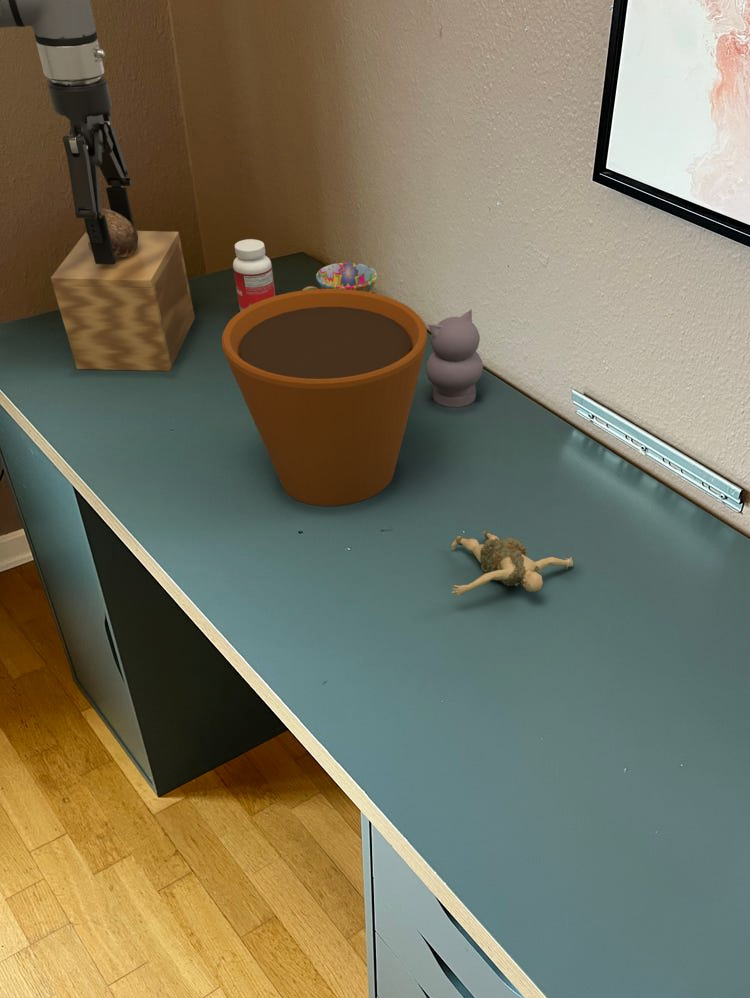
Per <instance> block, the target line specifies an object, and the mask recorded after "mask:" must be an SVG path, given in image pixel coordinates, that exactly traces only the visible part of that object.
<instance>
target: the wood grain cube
mask: <svg viewBox="0 0 750 998" xmlns="http://www.w3.org/2000/svg"><path fill="white" fill-rule="evenodd" d="M136 231H137V233H138V245H137V249H136V250H135V252H134V253H133V255H131V256H128V257H121V256H116V255H114V256H115V260H116V263H115V264H95V260H94V256H93V252H92V251H91V250H90V249H89V246H88V242H89V241H90V240H89V236H88V234H87V233H86V231H85V232H84V234H83V235H82V236H81V238H80V239H79V240H78V242H77V243H76V244H75V245H74V247H73V248H72V249H71V251H70V252H69V253H68V254H67V256H66V257H65V258H64V260H63V261H62V262H61V264H60V265H59V266H58V268H57V269H56V270H55V272H54V273H53V274H52V275H51V276H50V280H51V284H52V287H53V291H54V294H55V295H54V296H55V298H56V302H57V305H58V309H59V312H60V316H61V318H62V323H63V325H64V329H65V332H66V336H67V339H68V343H69V346H70V351H71V354H72V356H73V360H74V364H75V367H76V370H103V371H105V370H106V371H111V370H112V371H154V372H155V371H157V372H170V371H171V370H172V368H173V367H174V363H175V362H176V359H177V357H178V355H179V353H180V351H181V349H182V347H183V344H184V342H185V341H186V339H187V336H188V334H189V331H190V329H191V327H192V325H193V323H194V321H195V319H196V316H195V311H194V305H193V300H192V296H191V289H190V284H189V280H188V273H187V268H186V264H185V263H186V262H185V258H184V252H183V247H182V242H181V237H180V233H179V231H163V230H162V231H161V230H136Z"/></svg>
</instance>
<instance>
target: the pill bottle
mask: <svg viewBox="0 0 750 998" xmlns="http://www.w3.org/2000/svg"><path fill="white" fill-rule="evenodd" d="M234 252H235V256H236V257H235V258H234V259H233V262H232V269H233V276H234V281H235V288H236V295H237V301H238V307H239V312H240V311H242V310H243V309H245V308H247V307H249V306H250V305H252V304H254V303H257V302H259V301H262V300H264V299H267V298H270V297H274V296H276V289H275V280H274V273H273V265H272V261H271V259H270V258H269V257H268V256H267V255H266V246H265V243H264V242H263V241H261V240H259V239H254V238H247V239H241V240H239V241H237V242H236V243H235V244H234Z"/></svg>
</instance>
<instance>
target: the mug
mask: <svg viewBox="0 0 750 998" xmlns="http://www.w3.org/2000/svg"><path fill="white" fill-rule="evenodd" d="M315 279H316V281H317V283H318V285H319V287H320V288H318V287H317V286H313V285H310V286H306V287H304V288H303V289H302V290H301V291H303V290H313V289H348V290H357V291H364V292H370V293H373V290H374V287H375V284H376V281H377V279H378V273H377V270H375V269H374V268H373V267H371V266H369V265H366V264H364V263H358V262H337V263H332V264H328V265H326V266H324V267H322V268H320V269H319V270H318V271H317V273H316V274H315Z"/></svg>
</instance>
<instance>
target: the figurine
mask: <svg viewBox="0 0 750 998" xmlns="http://www.w3.org/2000/svg"><path fill="white" fill-rule="evenodd" d="M482 533H483V536H484V538H485V539H486V540H485V541H484V542H483V543H482V544H481V543H479V541H478V540H477V539H476V538H468V539H467V538H465V536H460V535H458V536H456V538H455V539H454V540H453V542H452V543H451V546H450V547H451V549H452V550H455V549H456V548H457V546H464V547H465V549H467V550H468V551H469V552H472V553H473V554H474V556H475V557H476V559H477V561H478V562H479V563H480V568H481V571H483V572H484V574H482V575H480V576H479V577H478V578H477V579H474V580H473V581H472V582H470V583H468V584H462V585H456V584H454V585H453V586H452V587H454V588H451V590H452V591H451V593H452V594H453V596H460V595H461V596H462V595H464V594H466V593H468V592H470V591H471V590H473V589H476V588H478V587H481V586H484V585H486V584H488V583H489V582H490V581H499V582H500V583H502V584H503V585H506V586H507V587H509V586H516V587H518V585H521V587H523V588H525V590H526V591H527V592H529V593H532V592H538V591H540V590H541V589H542V588H543V584H544V580H543V576H542V575H541V574H539V573H540V572H541V571H543V570H544V569H546V568H547V567H548V566H552V567H563V566H564V568H565V570H566V571H567V570H568V568H569V567H574V562H573V560H574V559H573V558H572V556H570V557H569V558H566V557H565V558H564V559H561V558H558V557H553V556H549V557H546V558H542V559H538V560H537V561H534V560H533V559H531V558H529V557H528V555H527V554H528V553H527V550H528V547H526V546H524V545H523V542H522V541H521V540H518V538H516V539H515V538H512V537H508V538H505V539H500V538H499V537H498V536H497V535H494V534H492V533H491V531H490V530H484V531H483V532H482Z"/></svg>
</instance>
